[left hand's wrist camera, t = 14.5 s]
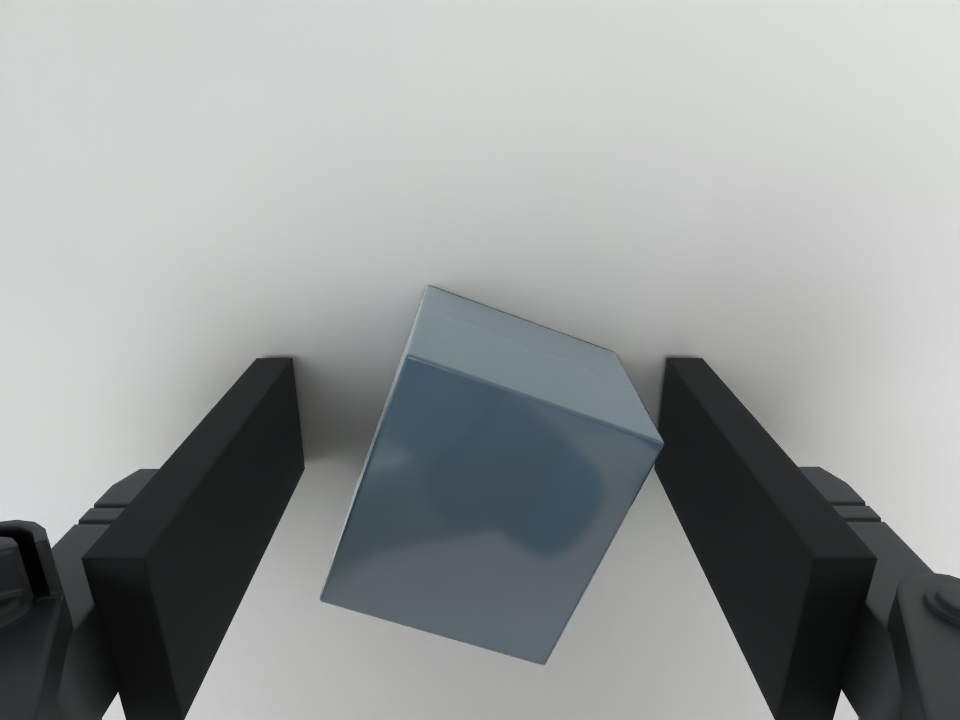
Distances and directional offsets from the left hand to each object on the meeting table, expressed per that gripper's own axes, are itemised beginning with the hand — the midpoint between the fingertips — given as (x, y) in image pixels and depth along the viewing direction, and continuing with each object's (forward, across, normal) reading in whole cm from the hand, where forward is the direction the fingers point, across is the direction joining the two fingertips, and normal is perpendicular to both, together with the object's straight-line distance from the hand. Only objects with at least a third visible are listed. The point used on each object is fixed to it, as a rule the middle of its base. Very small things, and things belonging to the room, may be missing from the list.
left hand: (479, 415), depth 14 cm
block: (0, 0, 0) cm, 0 cm away
